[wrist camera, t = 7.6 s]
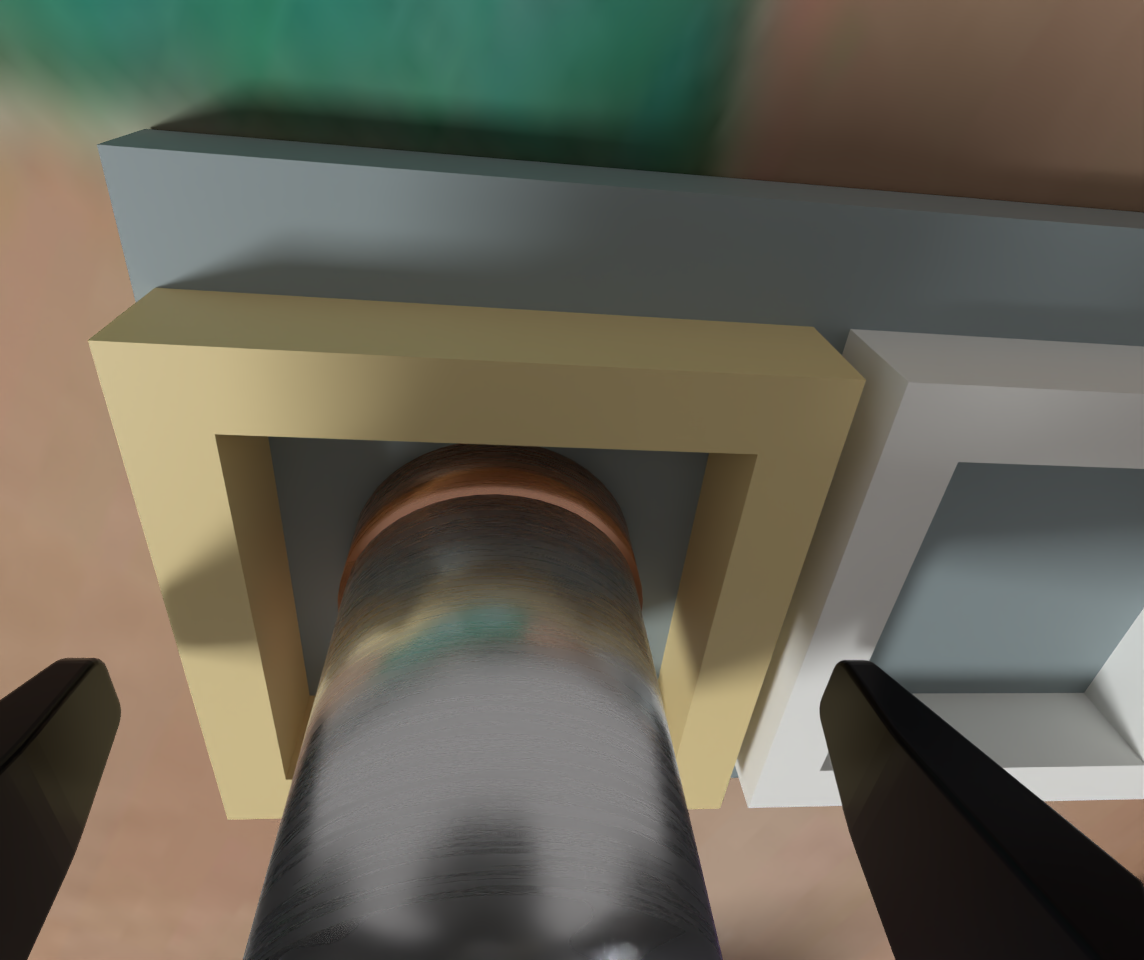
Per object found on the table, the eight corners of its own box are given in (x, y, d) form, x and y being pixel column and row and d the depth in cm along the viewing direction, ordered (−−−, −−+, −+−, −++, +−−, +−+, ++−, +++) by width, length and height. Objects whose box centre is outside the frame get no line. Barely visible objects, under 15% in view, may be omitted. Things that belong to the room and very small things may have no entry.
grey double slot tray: (1384, 233, 10) (1639, 295, 8) (1046, 724, 16) (1136, 843, 14) (145, 128, 8) (7, 173, 6) (272, 732, 14) (227, 872, 12)
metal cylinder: (612, 655, 12) (689, 1100, 7) (363, 655, 12) (259, 1133, 7) (647, 445, 10) (794, 879, 5) (341, 434, 10) (160, 902, 4)
